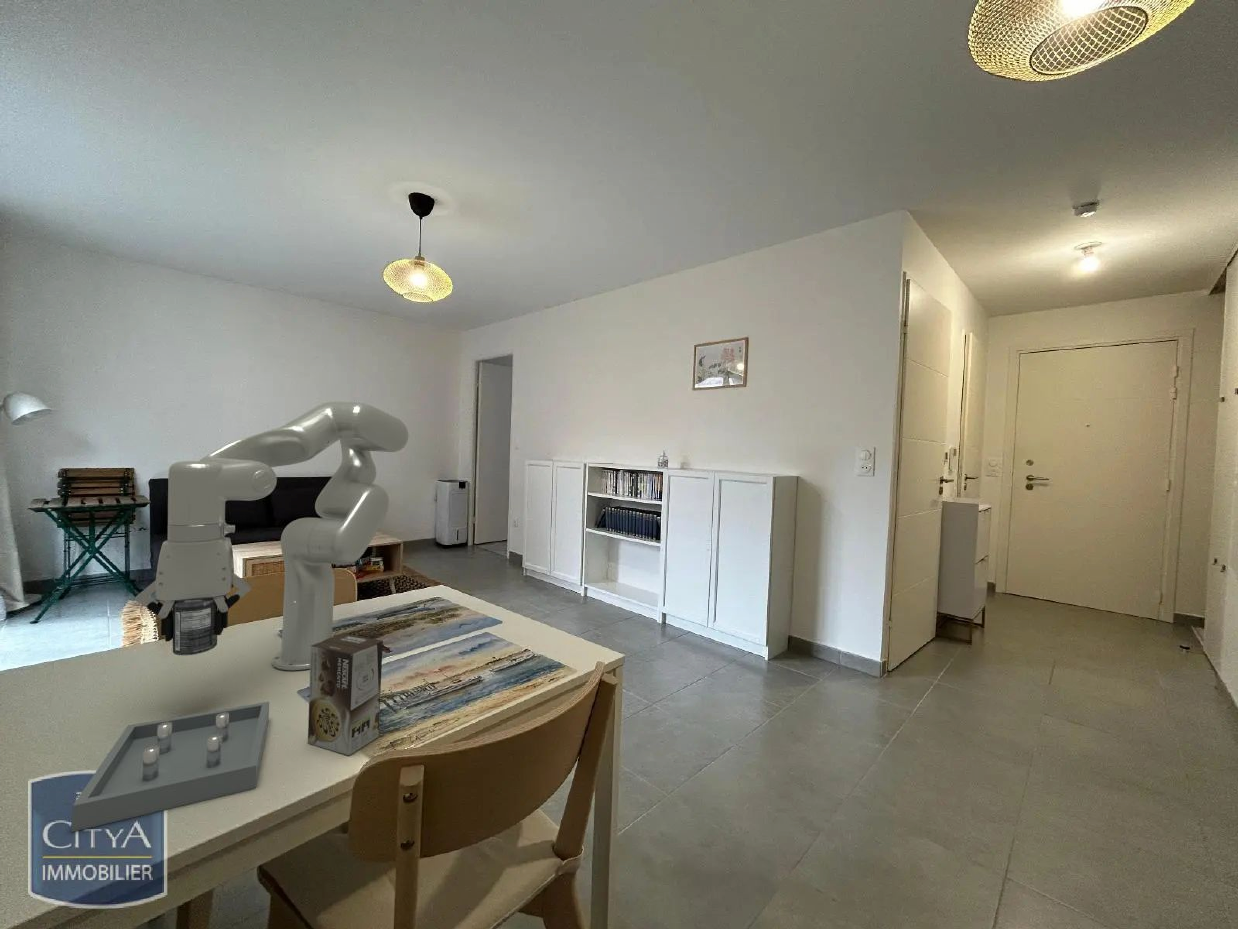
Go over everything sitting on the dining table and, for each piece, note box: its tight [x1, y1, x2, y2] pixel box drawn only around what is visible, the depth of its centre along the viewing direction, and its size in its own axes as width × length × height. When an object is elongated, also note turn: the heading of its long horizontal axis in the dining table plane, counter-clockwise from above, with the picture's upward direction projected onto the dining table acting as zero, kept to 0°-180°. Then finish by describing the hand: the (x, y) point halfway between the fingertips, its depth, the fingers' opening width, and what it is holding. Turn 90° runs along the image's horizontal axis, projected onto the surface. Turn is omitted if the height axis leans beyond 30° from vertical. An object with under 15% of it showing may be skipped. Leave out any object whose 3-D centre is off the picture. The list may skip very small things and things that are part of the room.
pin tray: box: [71, 701, 270, 833], centre depth 73 cm, size 18×20×5 cm
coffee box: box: [307, 633, 384, 756], centre depth 82 cm, size 9×6×16 cm
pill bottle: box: [172, 598, 218, 657], centre depth 87 cm, size 6×6×11 cm
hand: (195, 634), depth 87 cm, fingers closed on pill bottle, 6 cm apart
